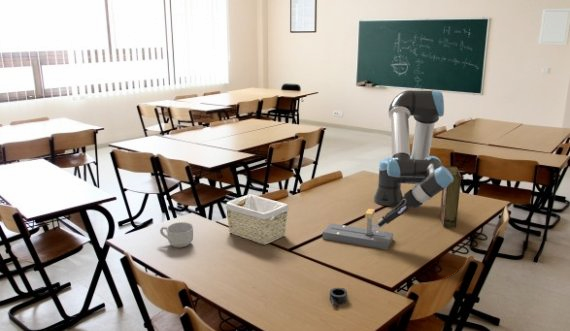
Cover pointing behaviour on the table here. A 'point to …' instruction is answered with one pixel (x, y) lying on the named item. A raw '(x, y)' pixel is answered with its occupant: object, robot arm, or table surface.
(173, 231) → the teacup
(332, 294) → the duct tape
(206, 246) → the table surface
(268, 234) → the storage basket
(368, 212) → the fader knob
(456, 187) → the book
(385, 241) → the fader console
